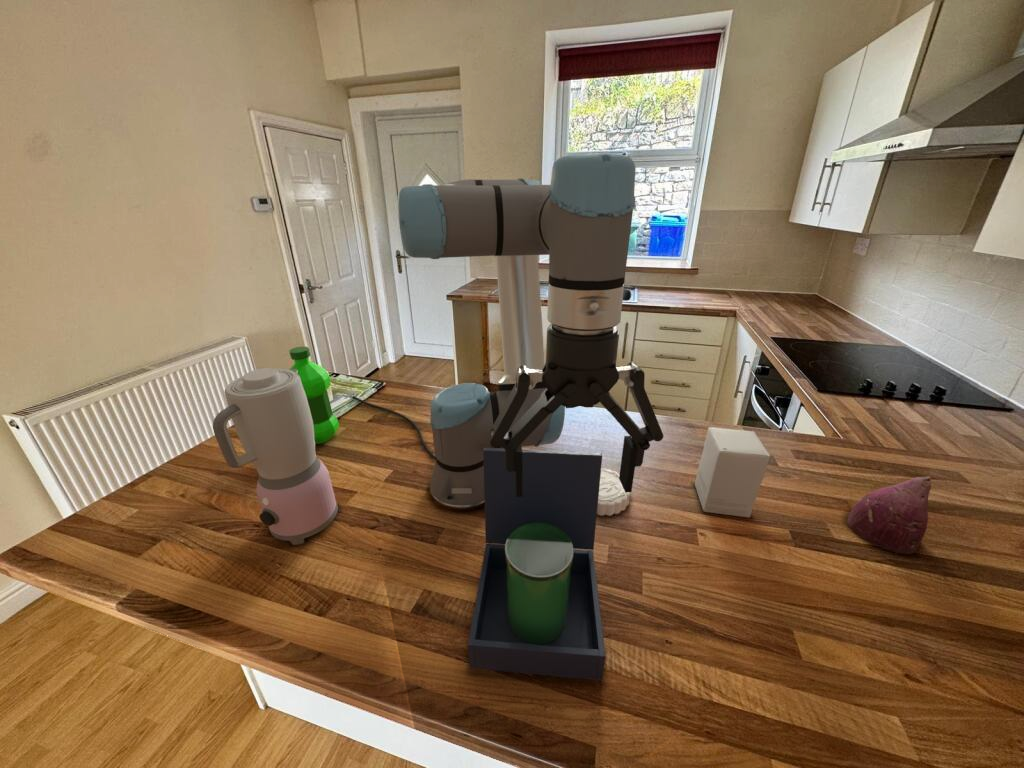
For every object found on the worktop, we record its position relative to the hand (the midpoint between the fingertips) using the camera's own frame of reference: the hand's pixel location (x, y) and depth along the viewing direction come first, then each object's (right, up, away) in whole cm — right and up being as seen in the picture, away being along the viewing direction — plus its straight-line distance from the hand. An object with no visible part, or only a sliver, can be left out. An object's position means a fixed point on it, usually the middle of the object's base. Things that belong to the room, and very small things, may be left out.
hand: (572, 487), depth 51 cm
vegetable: (+62, -15, +25) cm, 69 cm away
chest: (-4, -23, +10) cm, 25 cm away
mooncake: (+11, -11, +35) cm, 38 cm away
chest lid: (-3, -5, +12) cm, 13 cm away
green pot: (-4, -22, +10) cm, 24 cm away
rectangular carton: (+36, -11, +33) cm, 50 cm away
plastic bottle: (-58, -1, +55) cm, 80 cm away
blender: (-49, -15, +27) cm, 58 cm away
